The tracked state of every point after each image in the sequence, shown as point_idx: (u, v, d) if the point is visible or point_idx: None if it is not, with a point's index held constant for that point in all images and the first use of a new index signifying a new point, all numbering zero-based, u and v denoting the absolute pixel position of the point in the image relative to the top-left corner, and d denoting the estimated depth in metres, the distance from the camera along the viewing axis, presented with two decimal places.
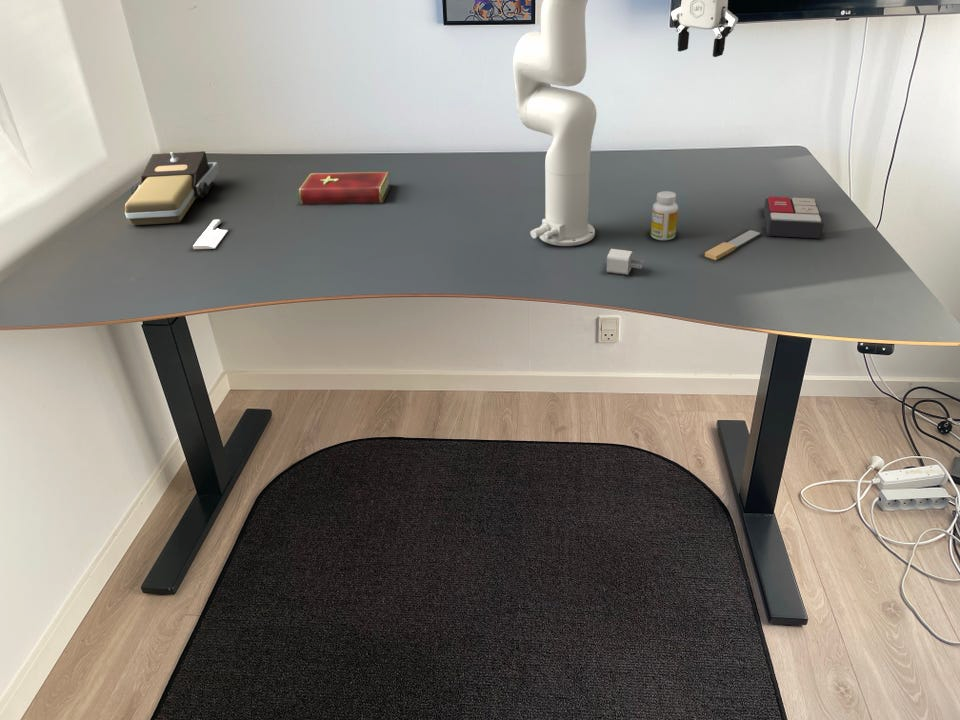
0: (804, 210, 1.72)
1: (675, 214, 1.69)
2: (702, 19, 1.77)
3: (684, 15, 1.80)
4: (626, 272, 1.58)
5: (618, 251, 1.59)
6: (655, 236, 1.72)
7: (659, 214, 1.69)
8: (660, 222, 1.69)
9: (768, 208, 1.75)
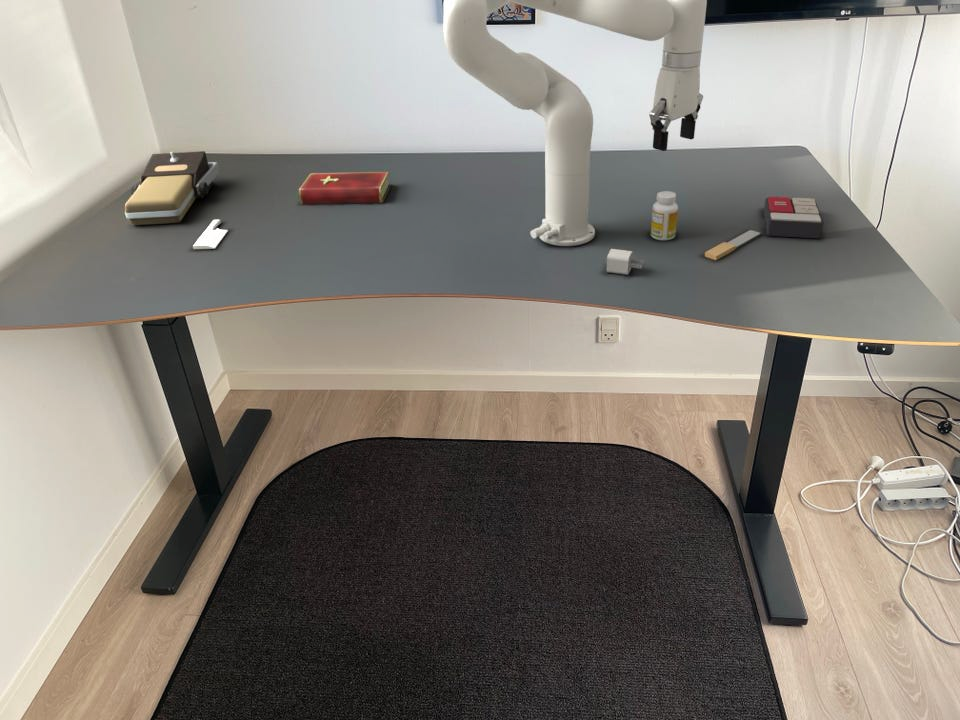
0: (804, 210, 1.72)
1: (675, 214, 1.69)
2: None
3: None
4: (626, 272, 1.58)
5: (618, 251, 1.59)
6: (655, 236, 1.72)
7: (659, 214, 1.69)
8: (660, 222, 1.69)
9: (768, 208, 1.75)
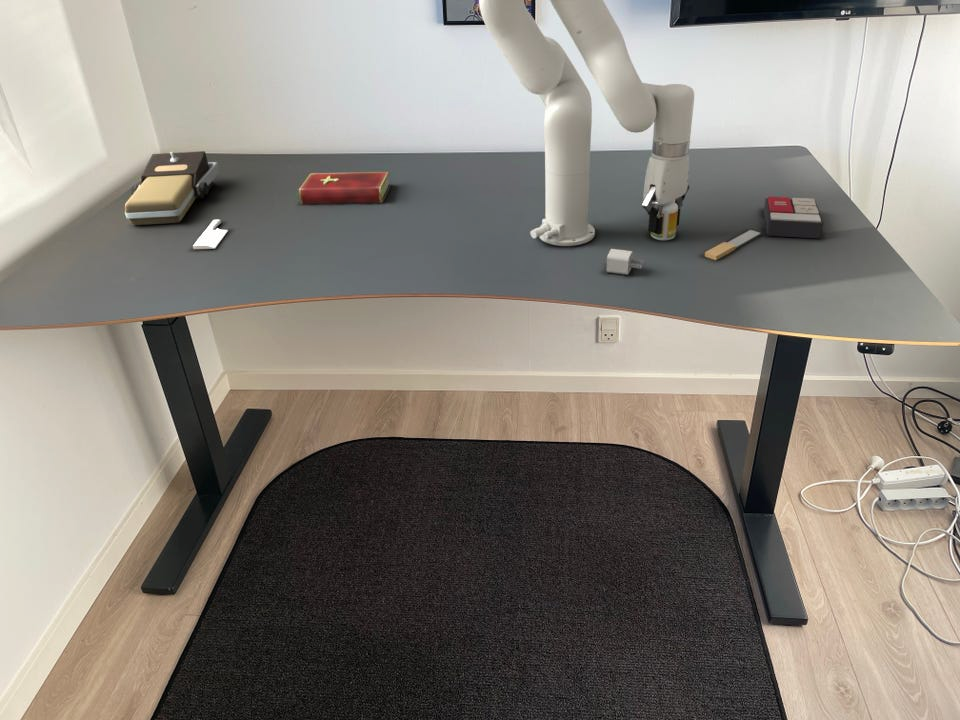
0: (804, 210, 1.72)
1: (675, 214, 1.69)
2: None
3: None
4: (626, 272, 1.58)
5: (618, 251, 1.59)
6: (655, 236, 1.72)
7: None
8: None
9: (768, 208, 1.75)
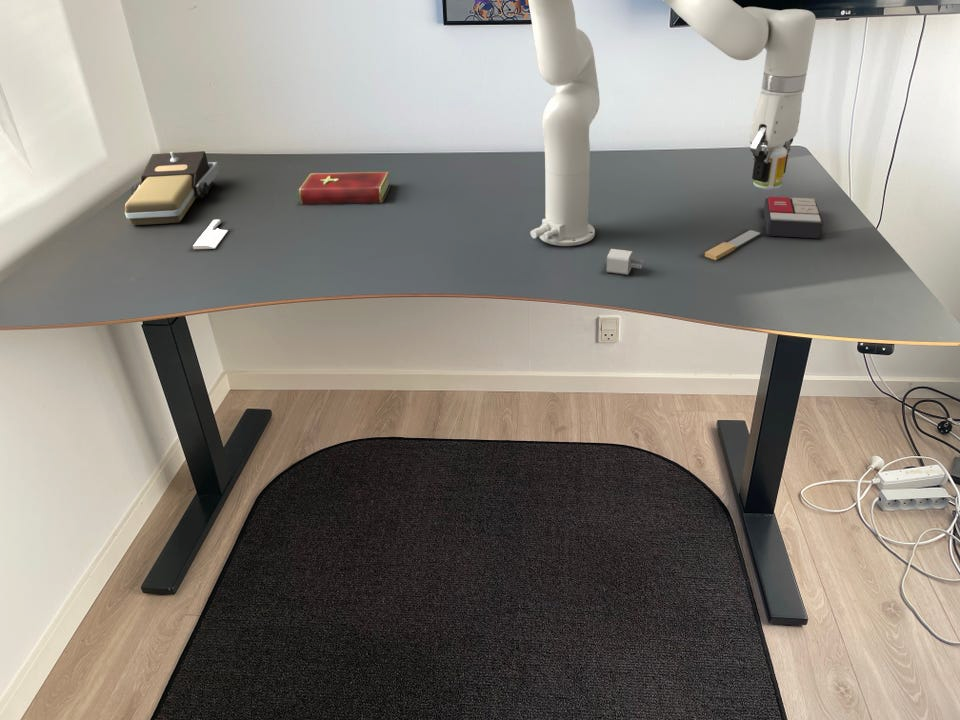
0: (804, 210, 1.72)
1: (784, 159, 1.52)
2: None
3: None
4: (626, 272, 1.58)
5: (618, 251, 1.59)
6: (760, 185, 1.55)
7: None
8: None
9: (768, 208, 1.75)
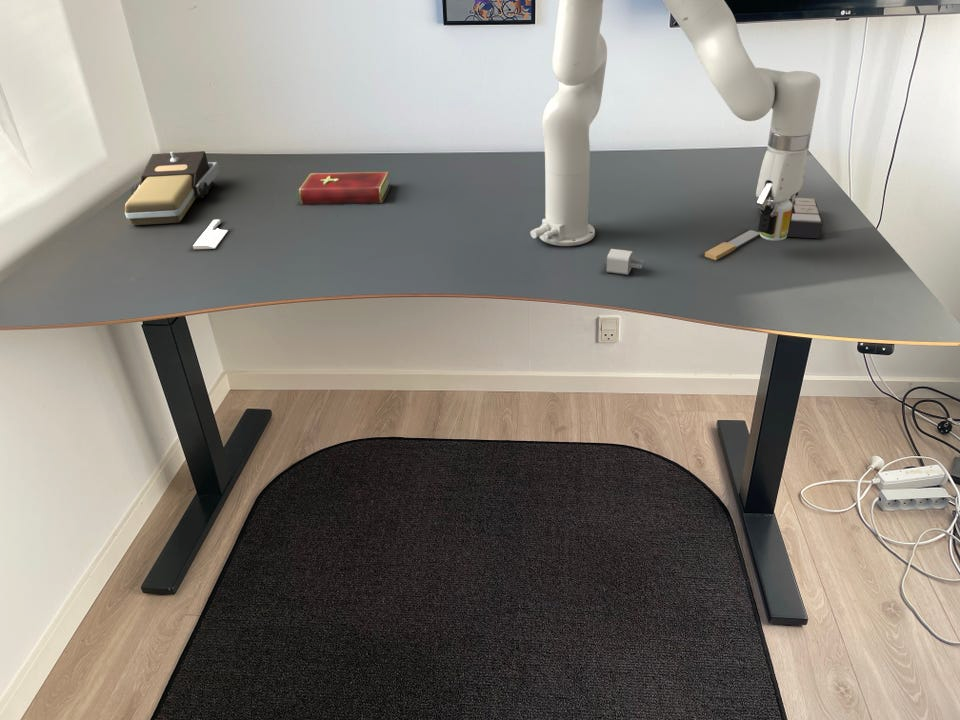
0: (804, 210, 1.72)
1: (790, 212, 1.56)
2: None
3: None
4: (626, 272, 1.58)
5: (618, 251, 1.59)
6: (766, 236, 1.59)
7: None
8: None
9: None
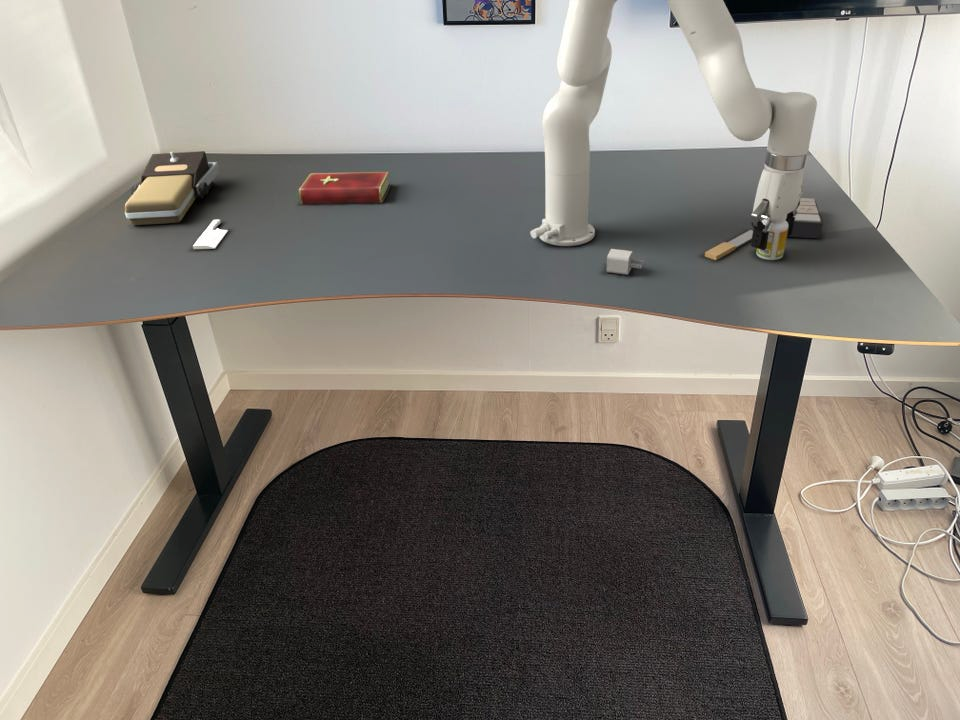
0: (804, 210, 1.72)
1: (786, 232, 1.59)
2: None
3: None
4: (626, 272, 1.58)
5: (618, 251, 1.59)
6: (762, 256, 1.61)
7: None
8: (769, 241, 1.59)
9: None
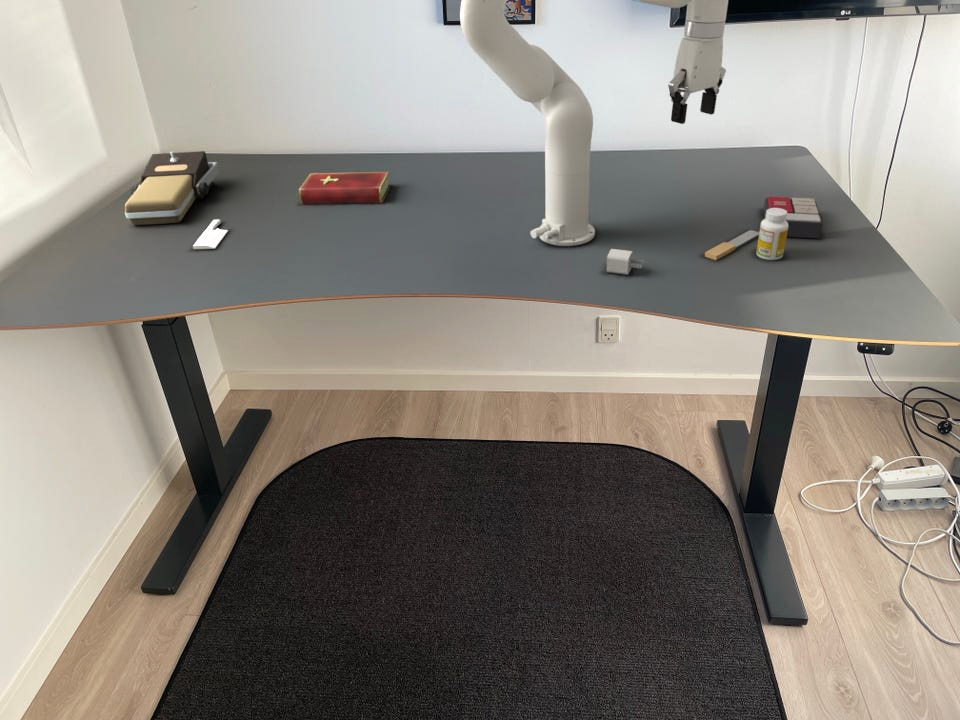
0: (803, 210, 1.72)
1: (786, 232, 1.59)
2: None
3: None
4: (626, 272, 1.58)
5: (618, 251, 1.59)
6: (762, 256, 1.61)
7: (768, 233, 1.58)
8: (769, 241, 1.59)
9: (768, 208, 1.75)
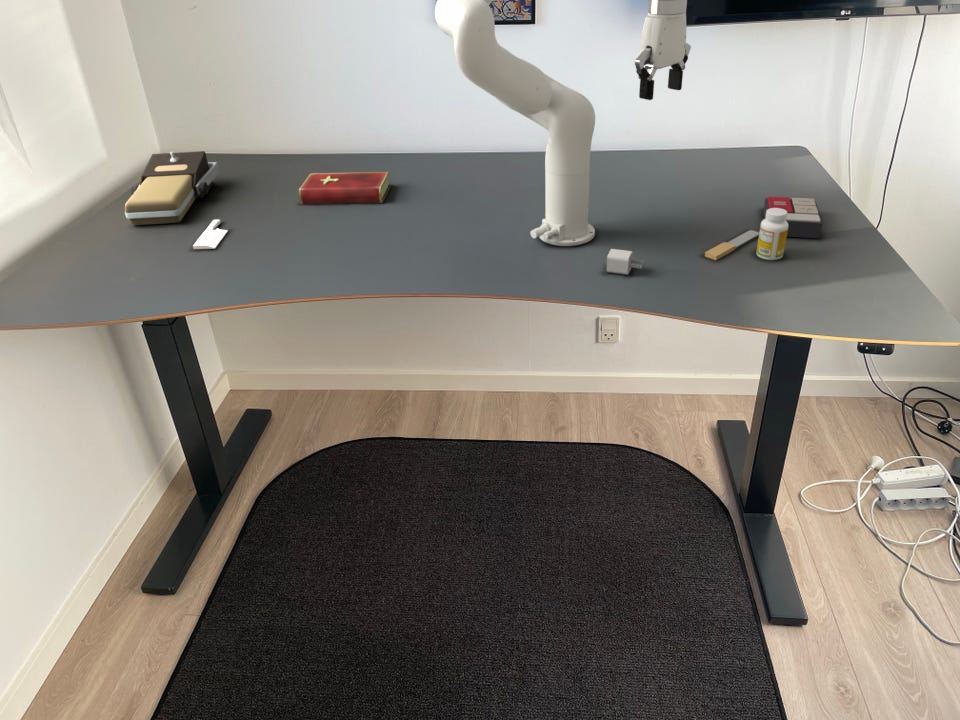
0: (803, 210, 1.72)
1: (786, 232, 1.59)
2: None
3: None
4: (626, 272, 1.58)
5: (618, 251, 1.59)
6: (762, 256, 1.61)
7: (768, 233, 1.58)
8: (769, 241, 1.59)
9: (767, 208, 1.75)
